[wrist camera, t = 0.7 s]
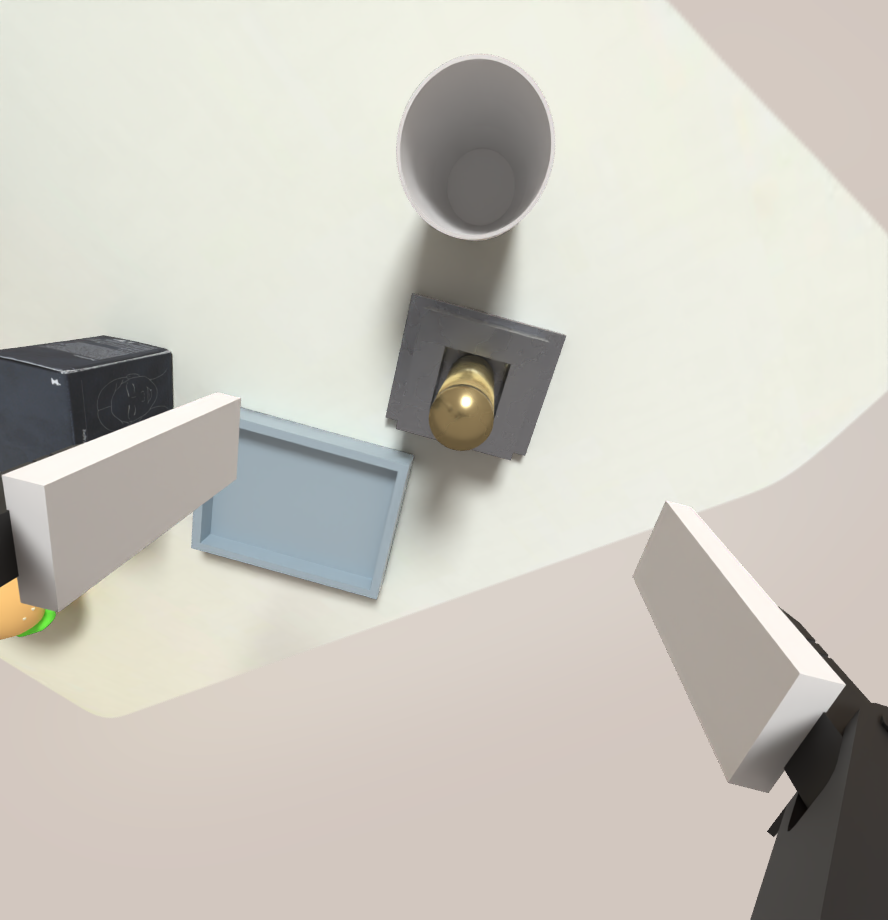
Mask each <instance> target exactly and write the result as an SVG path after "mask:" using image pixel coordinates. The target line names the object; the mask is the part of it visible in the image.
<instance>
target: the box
mask: <svg viewBox="0 0 888 920" xmlns="http://www.w3.org/2000/svg"><path fill="white" fill-rule="evenodd" d="M172 409H173V394H172V360H171V352H170V351H169V350H167V349H164V348H160V347H156V346H152V345H148V344H143V343H139V342H135V341H130V340H125V339H120V338H115V337H109V336H104V335H103V336H98V337H91V338H83V339H76V340H70V341H62V342H55V343H48V344H41V345H33V346H26V347H18V348H10V349H3V350H0V472H3V471H5V470H8V469H11V468H13V467H16V466H18V465H21V464H24V463H26V462H33V460H34V459H37V458H40V457H42V456H45V455H48V456H50V453H53V452H55V451H58V450H61V449H63V448H66V447H68V446H71V445H76V444H82V443H86V442H89V441H91V440H94V439H97V438H99V437H102V436H104V435H107V434H110V433H112V432H115V431H117V430H120V429H122V428H125V427H128V426H130V425H133V424H135V423H138V422H141V421H143V420H146V419H148V418H151V417H154V416H156V415H159V414H161V413H164V412H166V411H169V410H172Z"/></svg>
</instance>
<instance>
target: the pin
mask: <svg viewBox="0 0 888 920" xmlns="http://www.w3.org/2000/svg"><path fill="white" fill-rule="evenodd" d="M493 423H494V372H493V369H492V367H491V366H490V364H489V363H488V362H487V361H486V360H484V359H483V358H481V357H478V356H472V355H471V356H465V357H462V358H460V359H459V360H457V361H456V362H455V363H454V364H453V366H452V367H451V369H450V371H449V373H448V375H447V377H446V379H445V381H444V383H443V385H442V387H441V389H440V390H439V392H438V394H437V396H436V398H435V400H434V402H433V404H432V406H431V409H430V412H429V425H430V429H431V432H432V433H433V435H434V437H435V438H436V439H437V440H438V441H439V442H440V443H441V444H442V445H444V446H446V447H448V448H450V449H453V450H459V451H465V450H470V449H473V448H476V447H478V446H479V445H481V444H482V443H483V442H484V441H485V440H486V439H487V438H488V437H489V435H490V433H491V431H492V428H493Z"/></svg>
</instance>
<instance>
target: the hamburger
mask: <svg viewBox="0 0 888 920" xmlns="http://www.w3.org/2000/svg"><path fill="white" fill-rule="evenodd" d="M55 616H56V613H55V611H51V610H47V609H43V608H39V607H35V606H32V605H28V604H24V603H21V602H20V595H19V588H18V581H17V578H15V579H13V580H12V581H10V582H8V583H7V584H5V585H4V586H2V587H0V640H1V639H5V638H9V637H13V636H18V637H22V636H26V635H30V634H33V633H36V632H39V631H42V630H44V629H45V628H46V627H47V626H48V625H49V624H50V623H51V622H52V621H53V620H54V618H55Z"/></svg>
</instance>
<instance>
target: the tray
mask: <svg viewBox="0 0 888 920" xmlns="http://www.w3.org/2000/svg"><path fill="white" fill-rule="evenodd" d="M413 459H414V455H412V454H408V453H404V452H401V451H397V450H394V449H390V448H386V447H383V446H379V445H376V444H372V443H368V442H365V441H361V440H357V439H354V438H350V437H347V436H343V435H339V434H336V433H332V432H328V431H325V430H321V429H318V428H314V427H310V426H307V425H303V424H300V423H296V422H292V421H289V420H285V419H281V418H278V417H274V416H271V415H267V414H263V413H260V412H256V411H252V410H249V409H245V408H242V407H240V425H239V443H238V461H237V479H236V480H234V481H233V482H232V483H230V484H229V485H228V486H226V487H225V488H224V489H222V490H221V491H220V492H218V493H217V494H216V495H214V496H213V497H212V498H210V499H209V500H208V501H206V502H205V503H204V504H202V505H201V506H200V507H198V508H197V509H196V510H194V511H193V528H192V545H191V548H193V549H197V550H200V551H204V552H208V553H211V554H215V555H218V556H222V557H226V558H229V559H233V560H236V561H240V562H244V563H247V564H251V565H254V566H258V567H262V568H265V569H269V570H272V571H276V572H280V573H283V574H287V575H290V576H294V577H298V578H301V579H305V580H308V581H312V582H316V583H319V584H323V585H326V586H330V587H334V588H337V589H341V590H344V591H348V592H351V593H355V594H359V595H362V596H366V597H369V598H373V599H377V597H378V594H379V592H380V589H381V586H382V584H383V580H384V576H385V572H386V568H387V564H388V560H389V556H390V552H391V548H392V544H393V539H394V535H395V531H396V527H397V523H398V519H399V515H400V511H401V507H402V503H403V499H404V495H405V491H406V487H407V483H408V479H409V475H410V471H411V467H412V463H413Z"/></svg>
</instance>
